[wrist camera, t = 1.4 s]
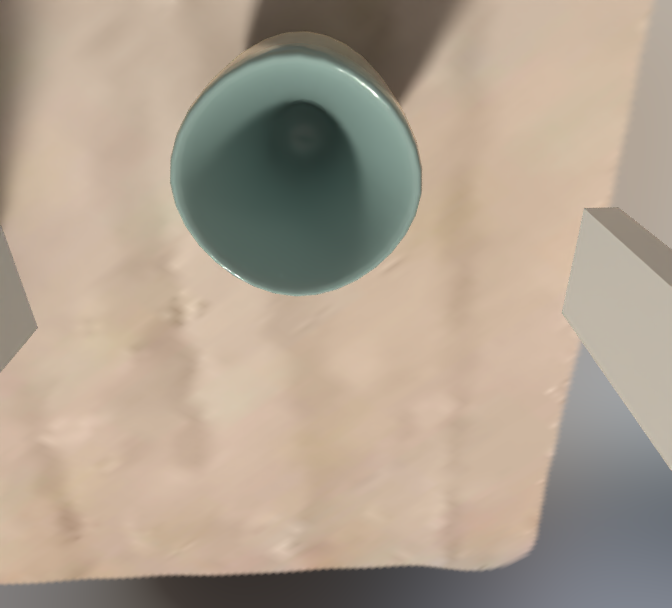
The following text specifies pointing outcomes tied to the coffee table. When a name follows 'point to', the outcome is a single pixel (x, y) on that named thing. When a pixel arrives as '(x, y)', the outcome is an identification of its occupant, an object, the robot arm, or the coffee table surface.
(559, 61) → the coffee table surface
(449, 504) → the coffee table surface
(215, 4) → the coffee table surface
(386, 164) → the cup
